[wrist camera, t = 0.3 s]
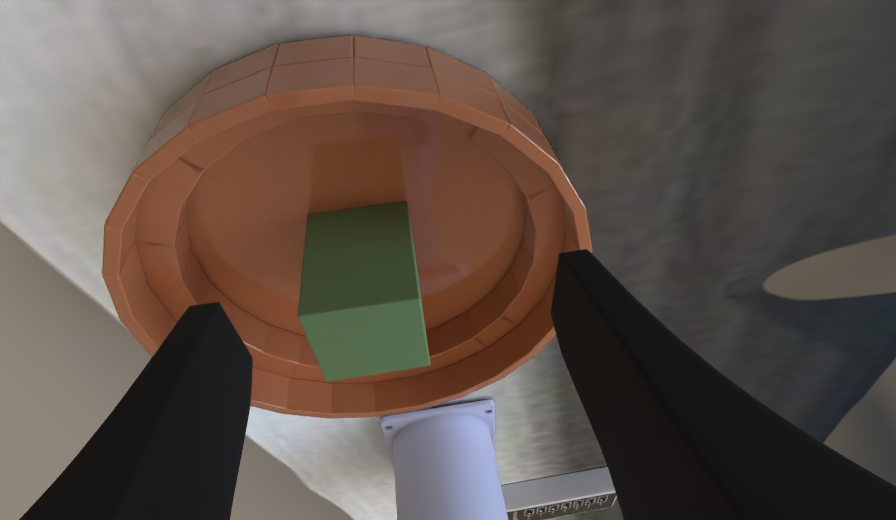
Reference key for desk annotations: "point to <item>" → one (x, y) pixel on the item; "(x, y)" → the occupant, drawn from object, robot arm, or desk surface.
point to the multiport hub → (559, 495)
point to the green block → (362, 292)
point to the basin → (339, 188)
